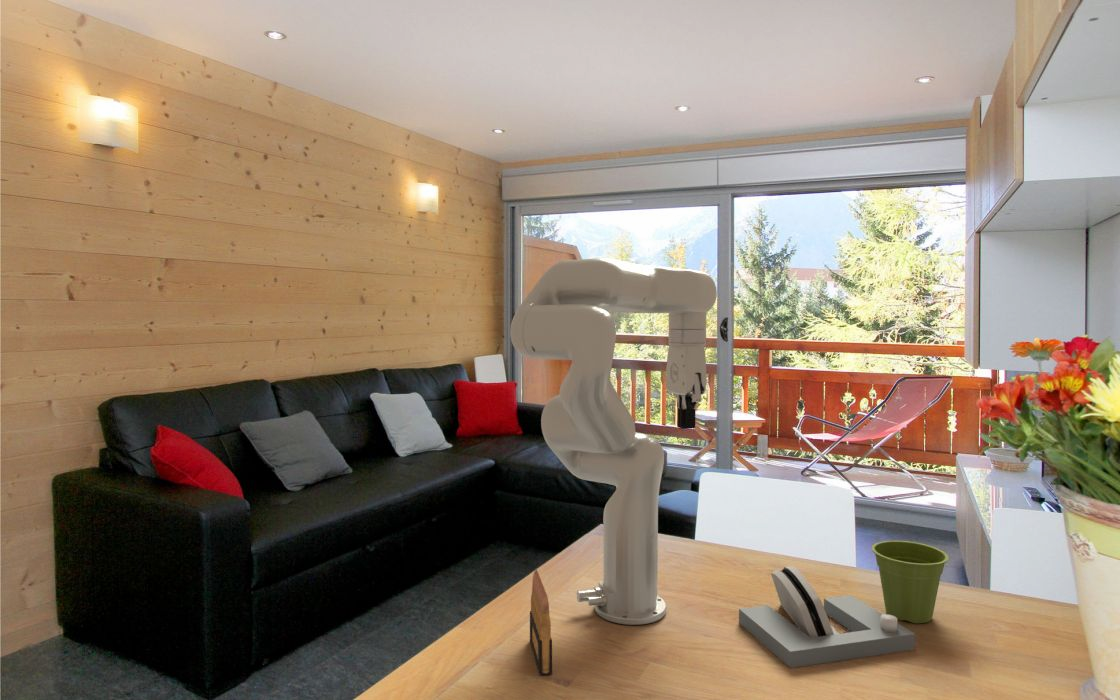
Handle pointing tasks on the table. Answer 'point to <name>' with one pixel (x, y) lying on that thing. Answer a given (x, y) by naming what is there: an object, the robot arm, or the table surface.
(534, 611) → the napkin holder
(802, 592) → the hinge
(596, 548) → the table surface
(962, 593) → the table surface
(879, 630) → the gray u-shaped block
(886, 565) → the plant pot
